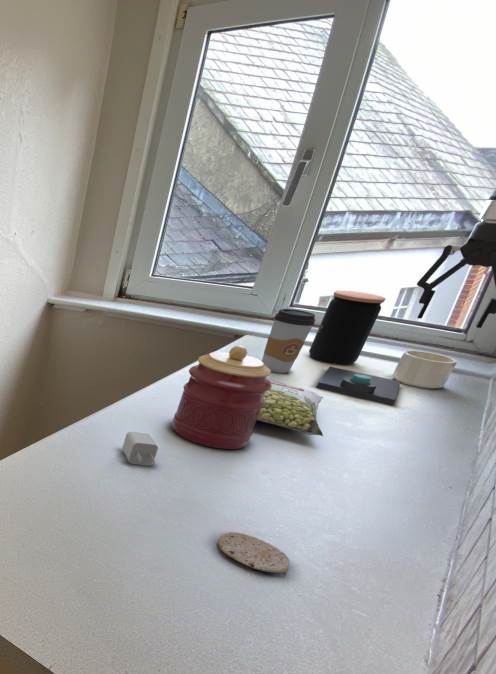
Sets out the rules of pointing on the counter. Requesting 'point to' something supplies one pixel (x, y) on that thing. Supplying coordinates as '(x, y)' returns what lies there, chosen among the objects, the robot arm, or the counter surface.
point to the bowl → (424, 369)
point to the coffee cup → (287, 339)
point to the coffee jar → (345, 327)
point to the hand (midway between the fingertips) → (448, 322)
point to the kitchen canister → (222, 399)
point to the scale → (360, 386)
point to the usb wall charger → (140, 448)
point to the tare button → (361, 379)
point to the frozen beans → (291, 408)
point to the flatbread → (253, 552)
